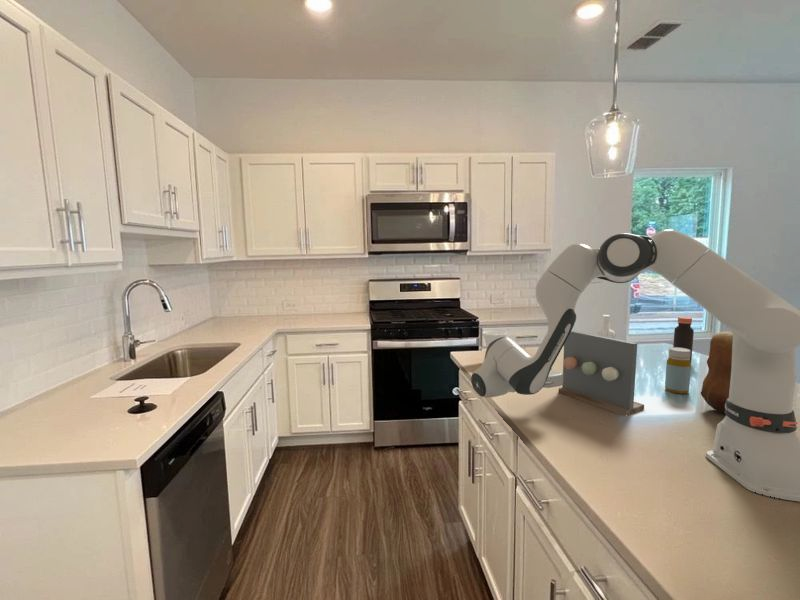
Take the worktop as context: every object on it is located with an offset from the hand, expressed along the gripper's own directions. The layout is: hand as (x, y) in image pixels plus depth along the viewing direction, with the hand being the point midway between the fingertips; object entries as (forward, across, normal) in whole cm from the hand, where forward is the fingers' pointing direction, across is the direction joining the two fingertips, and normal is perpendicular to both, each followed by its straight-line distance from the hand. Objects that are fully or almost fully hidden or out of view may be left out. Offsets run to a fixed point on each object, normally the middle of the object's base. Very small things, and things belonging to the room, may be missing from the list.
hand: (547, 368), depth 131 cm
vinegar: (+86, 0, +12) cm, 87 cm away
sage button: (+11, -7, +2) cm, 13 cm away
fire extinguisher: (+37, +4, +12) cm, 40 cm away
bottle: (+48, -16, +12) cm, 52 cm away
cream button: (+11, -14, +2) cm, 18 cm away
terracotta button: (+11, 0, +2) cm, 12 cm away
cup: (+20, +45, +12) cm, 51 cm away
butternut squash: (+40, -34, +12) cm, 54 cm away
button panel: (+17, -7, +12) cm, 22 cm away
